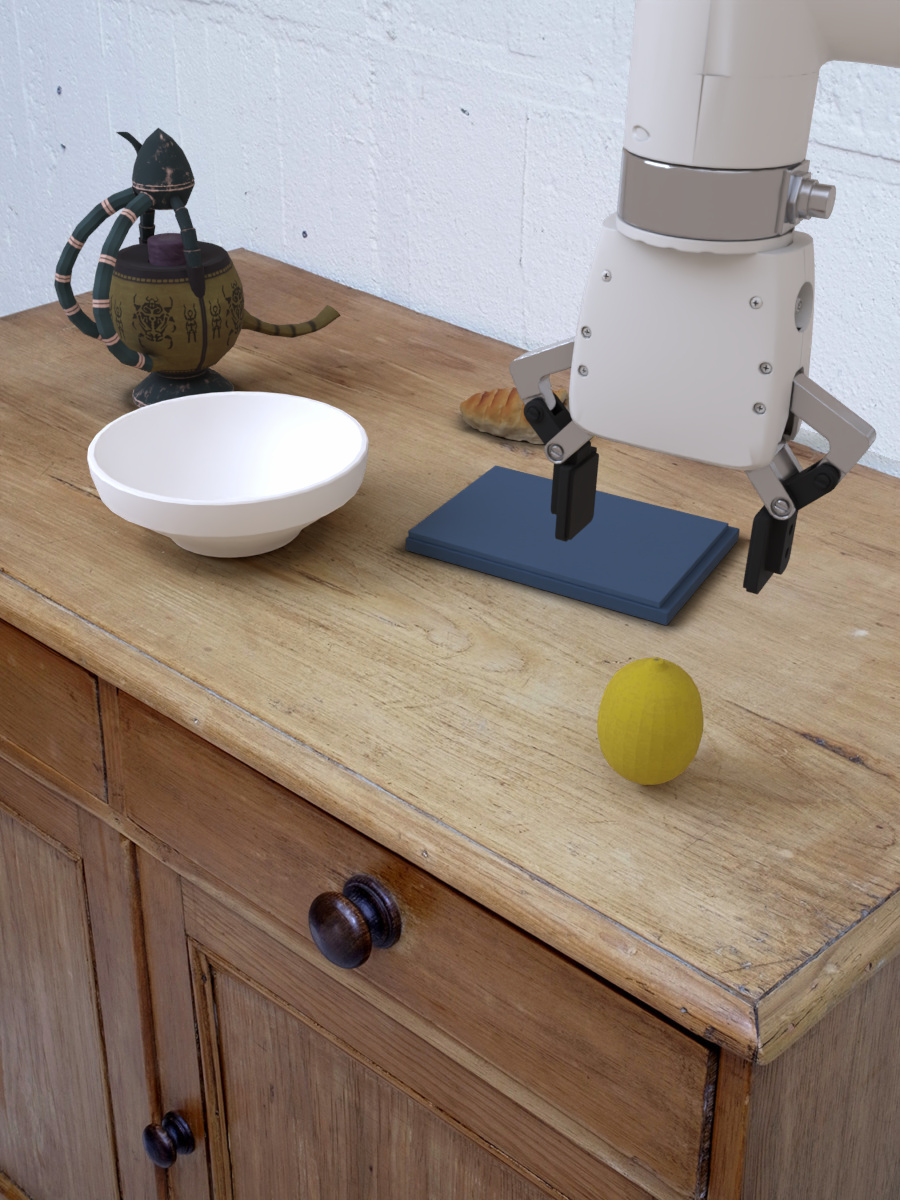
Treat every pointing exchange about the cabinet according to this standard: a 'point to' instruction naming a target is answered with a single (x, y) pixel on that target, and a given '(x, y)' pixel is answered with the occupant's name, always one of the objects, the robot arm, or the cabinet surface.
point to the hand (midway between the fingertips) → (664, 555)
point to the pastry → (503, 414)
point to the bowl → (229, 468)
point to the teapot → (163, 284)
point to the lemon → (650, 721)
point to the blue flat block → (576, 545)
